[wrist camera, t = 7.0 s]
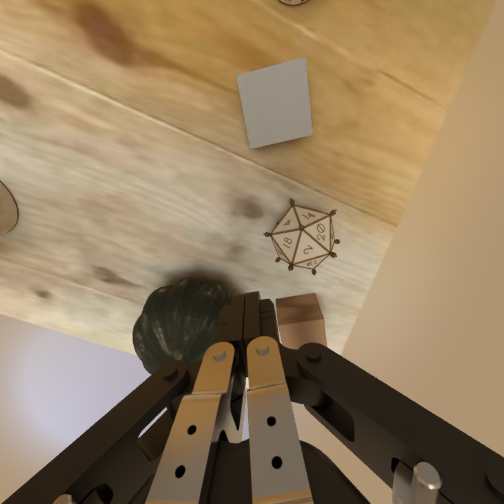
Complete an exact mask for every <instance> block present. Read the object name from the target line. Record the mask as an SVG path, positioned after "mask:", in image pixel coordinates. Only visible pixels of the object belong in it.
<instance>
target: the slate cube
mask: <svg viewBox="0 0 504 504" xmlns="http://www.w3.org/2000/svg"><path fill="white" fill-rule="evenodd" d="M236 79H237V84H238V89H239V94H240V99H241V104H242V109H243V114H244V119H245V124H246V129H247V134H248V139H249V144H250V149H253V148H257V147H262V146H266V145H271V144H275V143H279V142H284V141H288V140H292V139H297V138H301V137H306V136H310V135H313V129H312V119H311V108H310V98H309V88H308V77H307V67H306V57H303V58H300V59H296V60H292V61H288V62H285V63H281V64H277V65H273V66H270V67H266V68H262V69H258V70H255V71H251V72H247V73H243V74H240V75H236Z"/></svg>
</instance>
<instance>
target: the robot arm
mask: <svg viewBox="0 0 504 504" xmlns="http://www.w3.org/2000/svg"><path fill="white" fill-rule="evenodd" d="M17 217H18V215H17V208H16V205H15V202H14V200H13V198H12V196H11V194H10V193H9V192H8V190H7V189H6V188H5V187H4V185H3V184H2V183H1V182H0V235H1V234H4V233H6V232H8V231H10V230H11V229H12V228H13V227H14V226H15V224H16V222H17ZM246 377H248V378H249V390H247V404H248V423H249V439H247V440H245V441H242V430H243V421H244V412H245V401H246V388H245V385H246ZM291 402H296V403H300V404H304V406H305V408H306V409H307V410H308V411H309V412H310V413H311V414H312V415H313V416H314V417H315V418H316V419H317V420H318V421H319V422H321V424H323V425H324V426H325V427H326V428H327V429H328V430H329V431H330V432H331V433H332V434H333V435H334V436H336V438H338V439H339V440H340V441H341V442H342V443H343V444H344V445H345V446H346V447H347V448H348V449H350V450H351V451H352V452H353V453H354V454H355V455H356V456H357V457H358V458H359V459H360V460H361V461H362V462H363V463H364V464H366V465H367V466H368V467H369V468H370V469H371V470H372V471H373V472H374V473H375V474H376V475H378V477H380V478H381V479H382V480H383V481H384V482H385V483H386V484H387V485H388V486H389V487H390V488H391V489H392V502H393V504H504V457H502V456H501V455H499V454H497V453H496V452H494V451H492V450H491V449H489V448H488V447H486V446H485V445H483V444H481V443H480V442H478V441H476V440H475V439H473V438H472V437H470V436H468V435H467V434H465V433H464V432H462V431H460V430H459V429H457V428H456V427H454V426H452V425H451V424H449V423H448V422H446V421H444V420H443V419H441V418H440V417H438V416H436V415H435V414H433V413H432V412H430V411H428V410H427V409H425V408H424V407H422V406H420V405H418V404H417V403H416V402H414V401H412V400H411V399H409V398H408V397H406V396H404V395H403V394H401V393H400V392H398V391H396V390H395V389H393V388H391V387H390V386H388V385H387V384H385V383H384V382H382V381H380V380H379V379H377V378H375V377H374V376H372V375H371V374H369V373H367V372H366V371H364V370H363V369H361V368H359V367H358V366H356V365H355V364H353V363H351V362H350V361H348V360H347V359H345V358H343V357H342V356H340V355H339V354H337V353H335V352H334V351H332V350H331V349H329V348H327V347H326V346H324V345H322V344H320V343H314V342H311V343H306V344H304V345H302V346H301V347H300V348H299V349H298V350H296V349H290V348H287V347H285V346H283V345H282V344H281V343H280V342H279V334H278V326H277V320H276V315H275V309H274V304H273V303H272V301H271V300H270V299H264V300H261V299H260V294H259V291H256V292H250V293H246V294H245V293H244V294H237V295H232V301H231V305H224V307H223V308H222V309H221V311H220V312H219V317H218V322H217V327H216V332H215V337H214V342H213V345H212V346H211V347H209V348H208V349H207V351H206V352H205V354H204V357H203V359H202V360H200V361H198V362H195V363H193V364H190V365H188V366H186V364H185V363H184V362H183V361H181V360H173V361H170V362H168V363H166V364H164V365H163V366H161V367H160V368H159V369H158V370H157V371H156V372H154V373H153V374H152V375H151V376H150V377H149V378H147V379H146V380H145V381H144V382H143V383H142V384H141V385H139V386H138V387H137V388H136V389H135V390H133V391H132V392H131V393H130V394H129V395H128V396H126V397H125V398H124V399H123V400H122V401H121V402H119V403H118V404H117V405H116V406H115V407H114V408H112V409H111V410H110V411H109V412H108V413H107V414H106V415H104V416H103V417H102V418H101V419H100V420H98V421H97V422H96V423H95V424H94V425H93V426H91V427H90V428H89V429H88V430H87V431H86V432H84V433H83V434H82V435H81V436H80V437H79V438H78V439H76V440H75V441H74V442H73V443H72V444H71V445H69V446H68V447H67V448H66V449H65V450H63V451H62V452H61V453H60V454H59V455H58V456H56V457H55V458H54V459H53V460H52V461H51V462H49V463H48V464H47V465H46V466H45V467H44V468H42V470H40V471H39V472H38V473H37V474H35V475H34V476H33V477H32V478H31V479H30V480H29V481H27V482H26V483H25V484H24V485H23V486H21V487H20V488H19V489H18V490H17V491H16V492H14V493H13V494H12V495H11V496H10V497H9V498H8V499H6V500H5V501H4V502H3V503H2V504H370V502H369V501H368V500H367V499H366V498H365V497H364V496H363V495H362V493H361V492H360V491H359V490H358V489H357V488H356V487H355V486H354V485H353V484H352V483H351V482H350V480H349V479H348V478H347V477H346V476H345V475H344V474H343V473H342V472H341V470H340V469H339V468H338V467H337V466H336V465H335V464H334V463H333V462H332V461H331V460H330V459H329V458H328V457H327V456H326V455H325V454H324V453H322V451H320V450H319V449H317V448H316V447H314V446H313V445H311V444H309V443H307V442H304V441H301V440H299V436H298V432H297V428H296V423H295V418H294V414H293V409H292V405H291ZM165 407H166V408H167V410H166V411H165V413H163V415H162V416H161V417H160V418H159V419H158V420H157V421H156V422H155V423H154V424H153V425H152V426H151V427H150V428H149V429H148V430H147V431H146V432H145V433H144V434H143V435H142V436H141V437H139V435H140V433H141V432H142V430H143V429H144V428H145V427H146V426H147V425H148V424H149V423H150V422H151V421H152V420H153V419H154V418H155V417H156V416H157V415H158V414H159V413H160V412H161V411H162V410H163V409H164V408H165ZM138 437H139V438H138Z"/></svg>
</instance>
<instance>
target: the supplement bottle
mask: <svg viewBox="0 0 504 504" xmlns="http://www.w3.org/2000/svg"><path fill="white" fill-rule="evenodd" d="M280 1H282V2H284V3H286V4H291V5H295V4H300V3H303V2H305V1H306V0H280Z"/></svg>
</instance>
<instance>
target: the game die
mask: <svg viewBox="0 0 504 504" xmlns="http://www.w3.org/2000/svg"><path fill="white" fill-rule="evenodd" d="M294 203H295V202H294V200H293V199H292V198H291V199H290V204H291V205H292V206H291V208H290V209H289V210H288V211H287V213H286V214H285V215H284V217H283V218H282V219H281V221H280V222H279V223H277V226H276V227H275V228H274V230H273V231H272V232H271V233H269V232H268V233H267V232H266V233H264V235H265V236H266V237H267V236H268V237H269V236H271V239H272V241H273V243H274V246H275V248H276V251H277V253H278V256H279V258H277V259H276V262H279V261H280V259H281V260H283V261H285V262H287V263H288V264H290V265H289V267H288V269H289V271H291V270H293V266H297V267H302V268H307V269H312V274H313V275H315V274H316V273H317V272H316V270H315V268H316V267H317V266H318V265H319V264H320V263H321V262H322V261H323V260H324V259H326V258H327V257H328V256H329V255H331V257H333V258H334V257H337V255H336V253H334V252H332V249H333V245H334V243H336V244H339V243H340V241H339V239H338V240H337V239H336V240H335V239H334V232H333V226H332V219H331V216H332V215H334V214H336V210H332V211H331V212H330V214H327V213H323V212H319V211H316V210H312V209H308V208H304V207H300V206H296V205H294Z"/></svg>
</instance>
